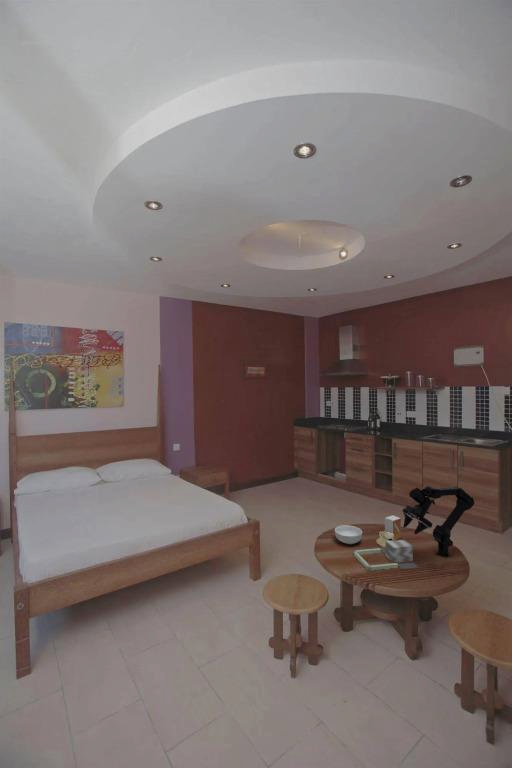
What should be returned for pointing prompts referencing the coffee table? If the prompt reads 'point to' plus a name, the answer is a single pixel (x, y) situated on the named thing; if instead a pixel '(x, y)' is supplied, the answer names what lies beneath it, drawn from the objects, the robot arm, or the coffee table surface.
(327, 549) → the coffee table surface
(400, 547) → the block
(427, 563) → the coffee table surface
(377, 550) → the green u-shaped guide frame
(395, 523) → the small box
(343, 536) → the cereal bowl
